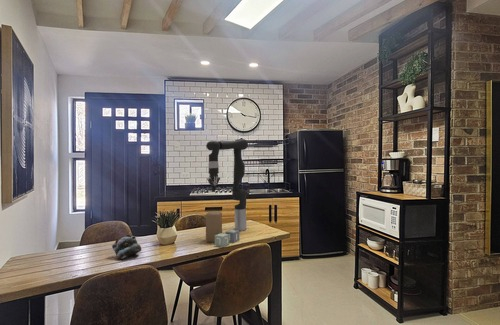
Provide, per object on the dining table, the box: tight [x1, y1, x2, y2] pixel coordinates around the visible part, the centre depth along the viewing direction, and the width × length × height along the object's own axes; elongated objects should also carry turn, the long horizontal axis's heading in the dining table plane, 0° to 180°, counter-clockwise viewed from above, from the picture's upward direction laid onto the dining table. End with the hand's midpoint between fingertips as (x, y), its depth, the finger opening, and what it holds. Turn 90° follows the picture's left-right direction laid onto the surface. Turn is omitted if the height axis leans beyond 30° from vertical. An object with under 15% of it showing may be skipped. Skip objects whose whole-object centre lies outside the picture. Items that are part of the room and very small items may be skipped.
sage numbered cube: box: [214, 232, 230, 248], centre depth 198 cm, size 7×7×7 cm
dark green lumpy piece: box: [111, 234, 142, 260], centre depth 178 cm, size 15×12×14 cm
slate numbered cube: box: [225, 229, 240, 244], centre depth 208 cm, size 7×7×7 cm
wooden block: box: [205, 211, 223, 243], centre depth 209 cm, size 10×10×20 cm
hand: (214, 190), depth 221 cm, fingers closed
